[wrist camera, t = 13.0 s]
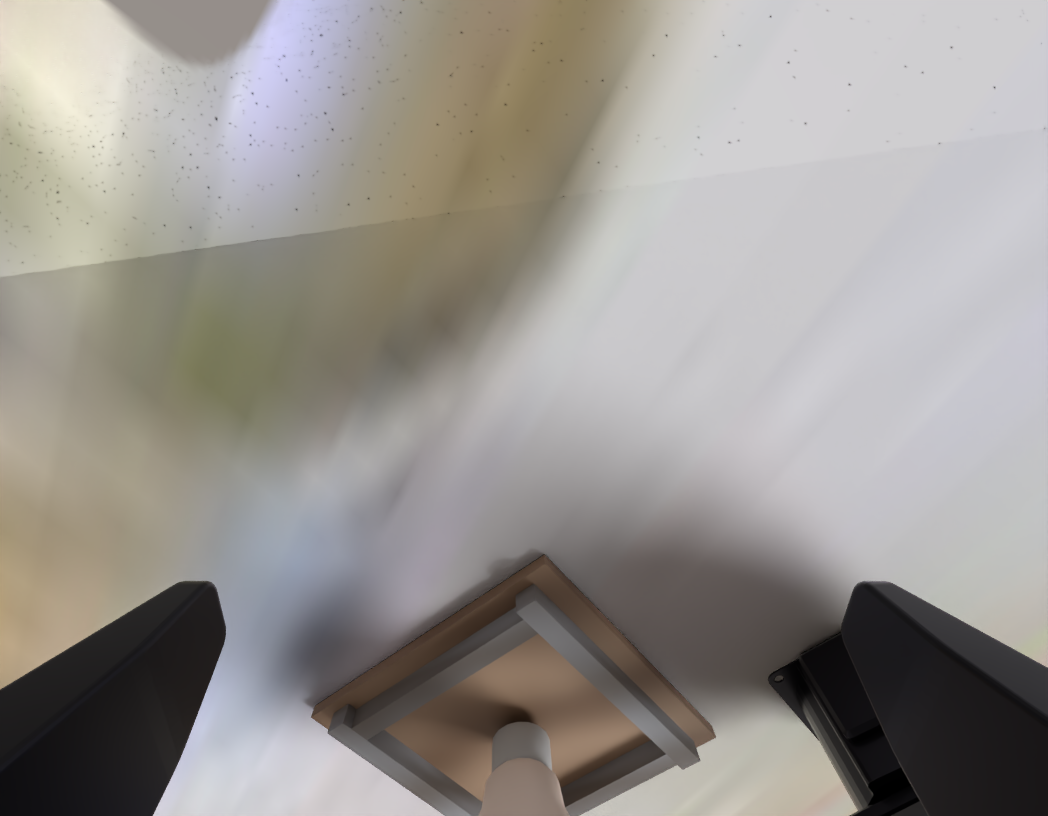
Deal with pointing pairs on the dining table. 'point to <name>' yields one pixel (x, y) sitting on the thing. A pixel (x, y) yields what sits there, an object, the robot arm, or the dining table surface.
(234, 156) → the dining table surface
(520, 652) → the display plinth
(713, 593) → the dining table surface
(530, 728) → the light bulb
